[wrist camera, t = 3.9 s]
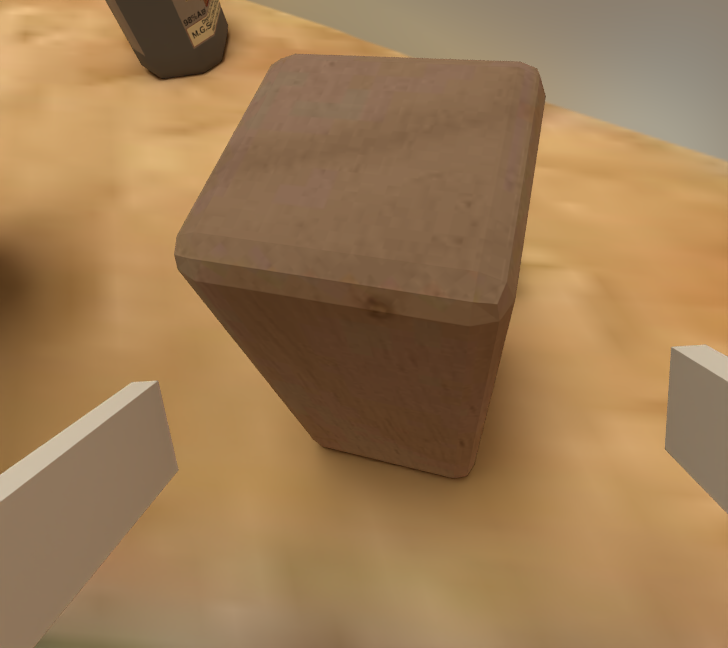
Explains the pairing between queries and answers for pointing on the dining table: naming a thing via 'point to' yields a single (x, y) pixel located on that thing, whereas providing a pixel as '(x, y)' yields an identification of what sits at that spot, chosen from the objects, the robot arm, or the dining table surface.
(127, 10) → the liquor
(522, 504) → the dining table surface
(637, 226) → the dining table surface
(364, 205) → the wooden block
